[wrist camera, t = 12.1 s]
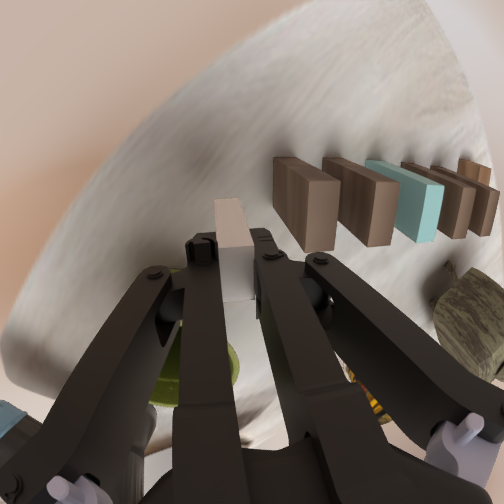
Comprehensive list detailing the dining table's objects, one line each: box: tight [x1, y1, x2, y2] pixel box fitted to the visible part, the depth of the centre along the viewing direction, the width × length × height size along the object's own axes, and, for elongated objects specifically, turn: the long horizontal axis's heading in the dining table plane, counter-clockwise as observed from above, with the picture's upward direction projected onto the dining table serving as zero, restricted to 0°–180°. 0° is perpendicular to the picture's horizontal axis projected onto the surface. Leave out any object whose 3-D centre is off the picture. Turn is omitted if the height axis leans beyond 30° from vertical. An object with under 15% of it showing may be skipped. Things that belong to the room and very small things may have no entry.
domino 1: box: [273, 157, 341, 253], centre depth 23 cm, size 2×5×10 cm, turn 0°
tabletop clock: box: [430, 261, 504, 383], centre depth 28 cm, size 14×9×25 cm, turn 37°
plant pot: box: [149, 269, 240, 407], centre depth 26 cm, size 12×12×11 cm
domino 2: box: [322, 158, 400, 247], centre depth 23 cm, size 2×5×10 cm, turn 0°
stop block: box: [457, 159, 491, 186], centre depth 29 cm, size 3×8×4 cm, turn 0°
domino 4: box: [430, 166, 500, 237], centre depth 25 cm, size 2×5×10 cm, turn 0°
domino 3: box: [401, 162, 476, 239], centre depth 25 cm, size 2×5×10 cm, turn 0°
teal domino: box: [365, 160, 445, 243], centre depth 24 cm, size 2×5×10 cm, turn 0°
